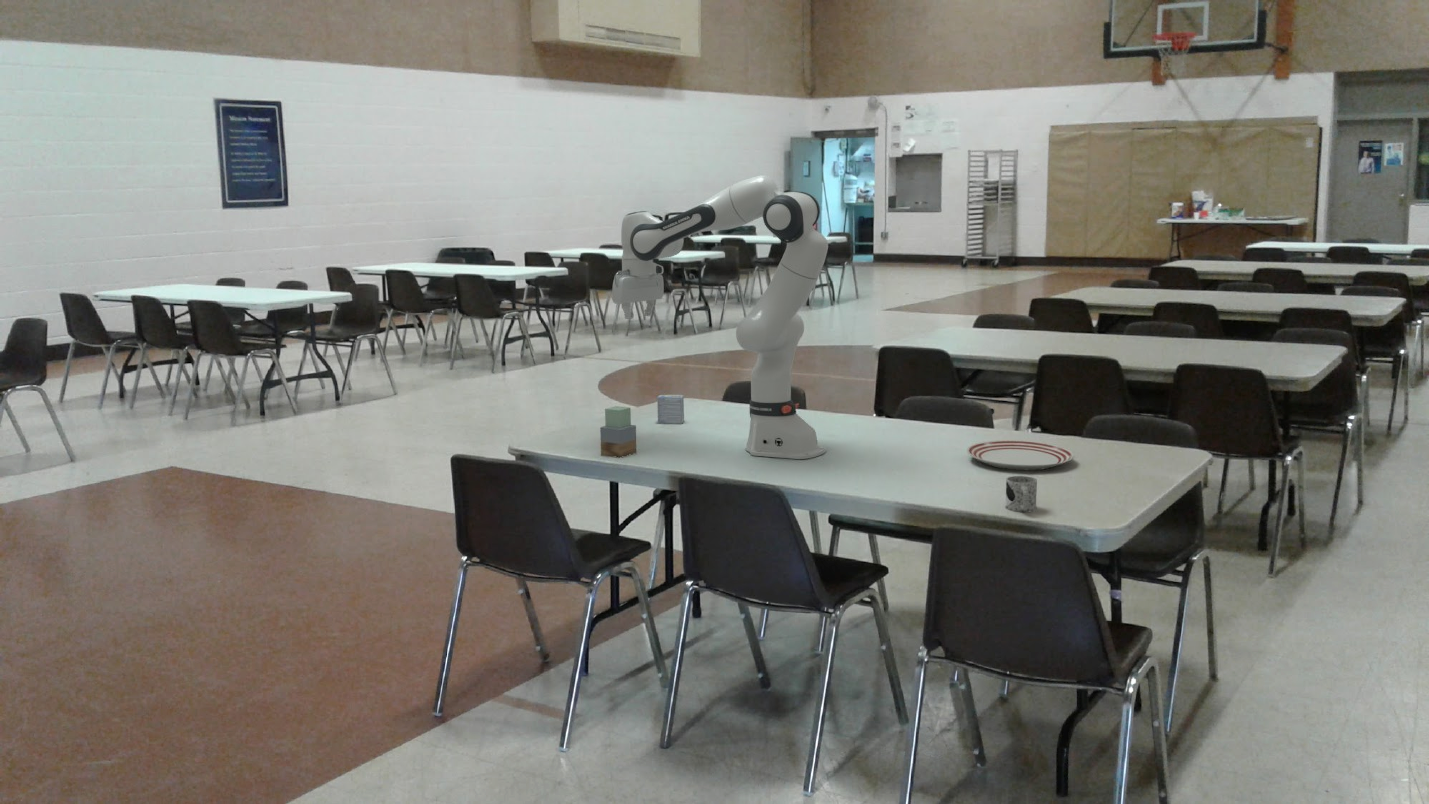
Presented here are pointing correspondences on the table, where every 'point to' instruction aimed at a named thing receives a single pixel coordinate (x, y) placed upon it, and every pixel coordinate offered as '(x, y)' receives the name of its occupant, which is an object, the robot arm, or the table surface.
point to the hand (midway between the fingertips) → (638, 317)
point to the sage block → (617, 417)
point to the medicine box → (670, 409)
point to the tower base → (618, 448)
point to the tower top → (618, 434)
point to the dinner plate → (1020, 454)
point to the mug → (1021, 493)
